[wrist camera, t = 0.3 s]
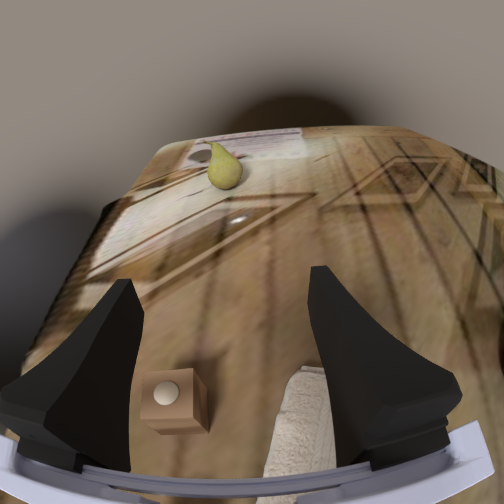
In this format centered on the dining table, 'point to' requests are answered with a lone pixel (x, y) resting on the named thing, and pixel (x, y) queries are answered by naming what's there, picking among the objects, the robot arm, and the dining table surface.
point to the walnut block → (175, 402)
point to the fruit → (223, 167)
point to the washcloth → (302, 431)
